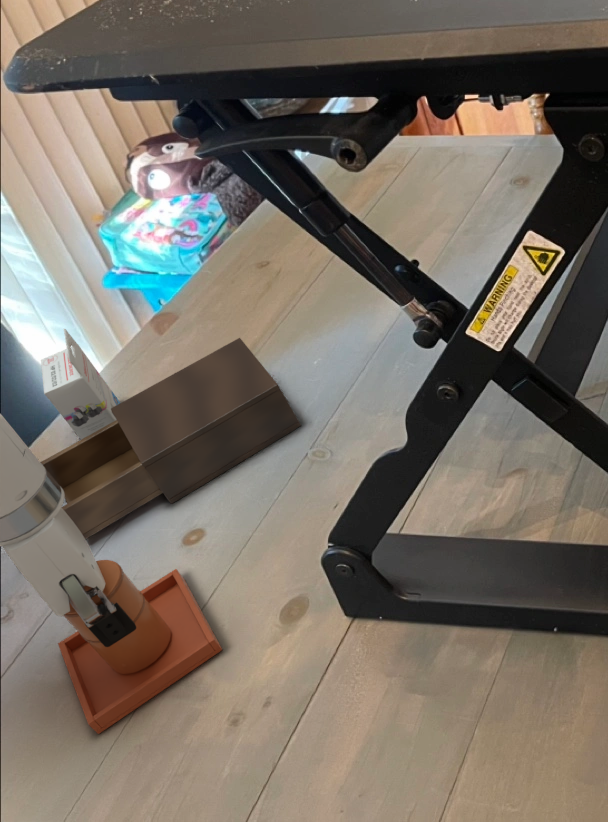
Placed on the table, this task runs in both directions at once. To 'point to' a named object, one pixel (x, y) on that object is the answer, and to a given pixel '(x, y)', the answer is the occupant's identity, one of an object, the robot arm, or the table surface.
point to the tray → (122, 693)
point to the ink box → (78, 389)
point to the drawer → (101, 479)
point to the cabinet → (205, 419)
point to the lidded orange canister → (149, 625)
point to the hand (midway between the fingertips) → (111, 614)
